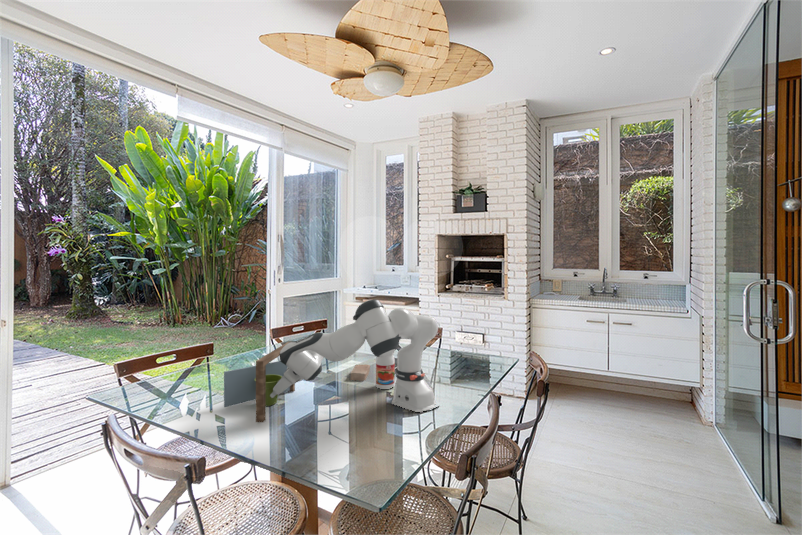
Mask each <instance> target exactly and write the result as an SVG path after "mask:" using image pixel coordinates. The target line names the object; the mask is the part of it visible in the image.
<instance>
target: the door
mask: <svg viewBox="0 0 802 535" xmlns="http://www.w3.org/2000/svg"><path fill="white" fill-rule="evenodd" d="M287 367H288V366H287V365H285V364H283V363H282V362H280V360H278V361H273V362H272V361H271V362H269V363H268V364H266V375H269V374H274V375H280V376H282V377H283V375H284V372H285V371H286V370H287ZM255 378H256V365H251V366H246V367H242V368H241V367H240V368H235V369H230V370H226V371H224V372H223V408H228V407H231V406H232V407H233V406H236V405H240V404H243V403H248V402H253V401H256V382H255V380H254V379H255ZM287 391H290V387H288V388H287V389H286V390H285V391H283V392H282V393H281V394H283V393H288V392H287Z"/></svg>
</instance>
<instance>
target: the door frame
mask: <svg viewBox="0 0 802 535" xmlns="http://www.w3.org/2000/svg"><path fill="white" fill-rule="evenodd" d="M292 341H293V340H292ZM292 341H291V340H290V341H289V340H288V341H287V342H286V343H284V344H281V345H280V346H278V347H277V348H275V349H274V350H272V351H271V352H269V353H267V354H265V355H264V356H262V357H261V358H258V359H257V360H256V361H255V366H256V400H255V423H264V422H265V421H266V420H267V419H266V416H267V414H266V409H267V406H266V364H268V363H272V361H274V360H275V359H277V358H278V357H280V355H279V353H280V351H281V350H282V348H283V347H284V346H285V345H286V344H288V343H290V342H292ZM295 391H296V383H295V384H292V385H291V386H290V391H287V392H286V393H294V392H295Z"/></svg>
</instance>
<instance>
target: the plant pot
mask: <svg viewBox="0 0 802 535" xmlns="http://www.w3.org/2000/svg"><path fill="white" fill-rule="evenodd" d="M281 378H282V376H280V375H274V374H269V375H266V407H271V406H274V405H275V404H277V402H278V397H279V395H275V396H274V397H273V398H271V397H270V394H271V393H272V392H273V388H274V386H275V385H276V384H277V383H278V381H279V380H280V379H281ZM254 380H255V382H256V378H255V379H254Z"/></svg>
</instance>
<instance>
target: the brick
mask: <svg viewBox="0 0 802 535" xmlns="http://www.w3.org/2000/svg"><path fill="white" fill-rule="evenodd" d="M370 368H371V365H370V364H355V366H354V367H353V368H352V369H351V371H350V378H349V379H350V381H351V380H354V381H353V382H356V381H355V380H359V381H358V382H365V381H366V380H367V378H368V377H369V374H370V372H371V371H370V370H371V369H370ZM364 380H365V381H364Z"/></svg>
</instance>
